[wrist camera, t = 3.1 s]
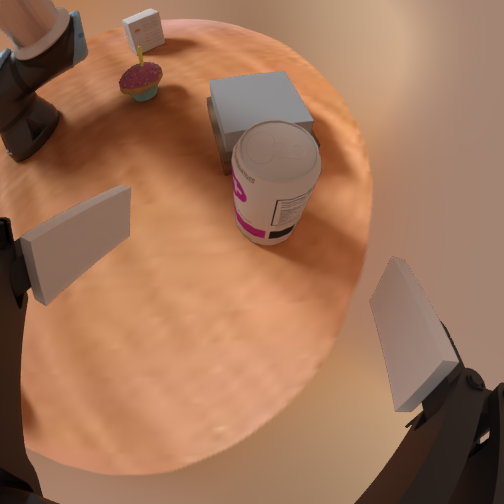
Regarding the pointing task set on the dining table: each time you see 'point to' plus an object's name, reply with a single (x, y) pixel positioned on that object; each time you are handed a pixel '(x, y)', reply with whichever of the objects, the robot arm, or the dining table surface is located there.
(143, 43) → the small box
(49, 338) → the dining table surface
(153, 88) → the cupcake
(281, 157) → the supplement can
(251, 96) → the tower top slab
